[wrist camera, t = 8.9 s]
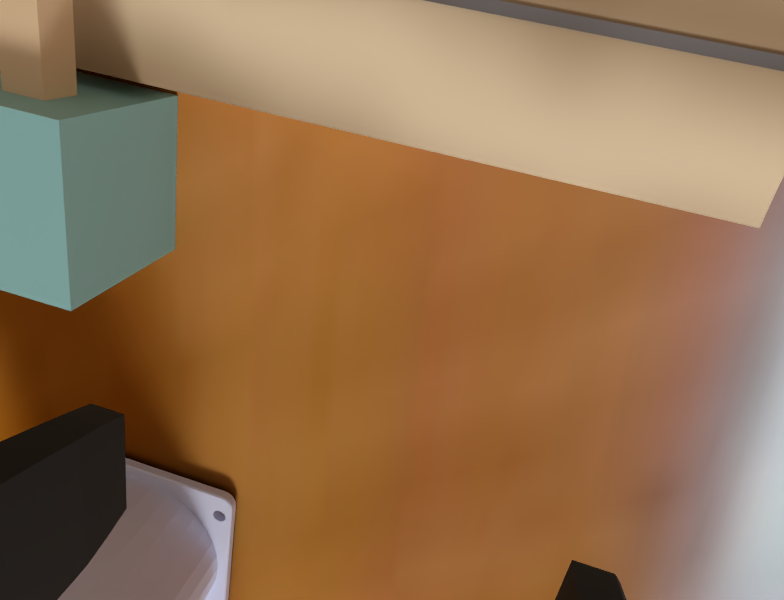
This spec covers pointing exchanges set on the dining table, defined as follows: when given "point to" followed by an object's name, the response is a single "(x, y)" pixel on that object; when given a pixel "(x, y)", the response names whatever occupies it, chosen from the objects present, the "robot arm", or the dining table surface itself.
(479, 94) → the board
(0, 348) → the dining table surface
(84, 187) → the tan post teal base
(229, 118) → the dining table surface
